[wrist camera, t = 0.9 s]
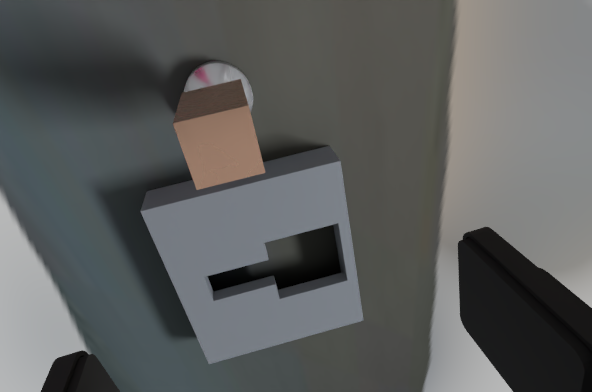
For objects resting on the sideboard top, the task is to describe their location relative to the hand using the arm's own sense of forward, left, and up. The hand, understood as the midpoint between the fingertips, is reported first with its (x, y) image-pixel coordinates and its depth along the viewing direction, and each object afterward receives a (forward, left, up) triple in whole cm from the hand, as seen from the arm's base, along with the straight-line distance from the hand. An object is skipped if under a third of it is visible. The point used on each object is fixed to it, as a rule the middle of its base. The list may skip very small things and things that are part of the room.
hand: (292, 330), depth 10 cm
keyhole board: (+14, -1, -23) cm, 26 cm away
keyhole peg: (-1, -1, -23) cm, 23 cm away
